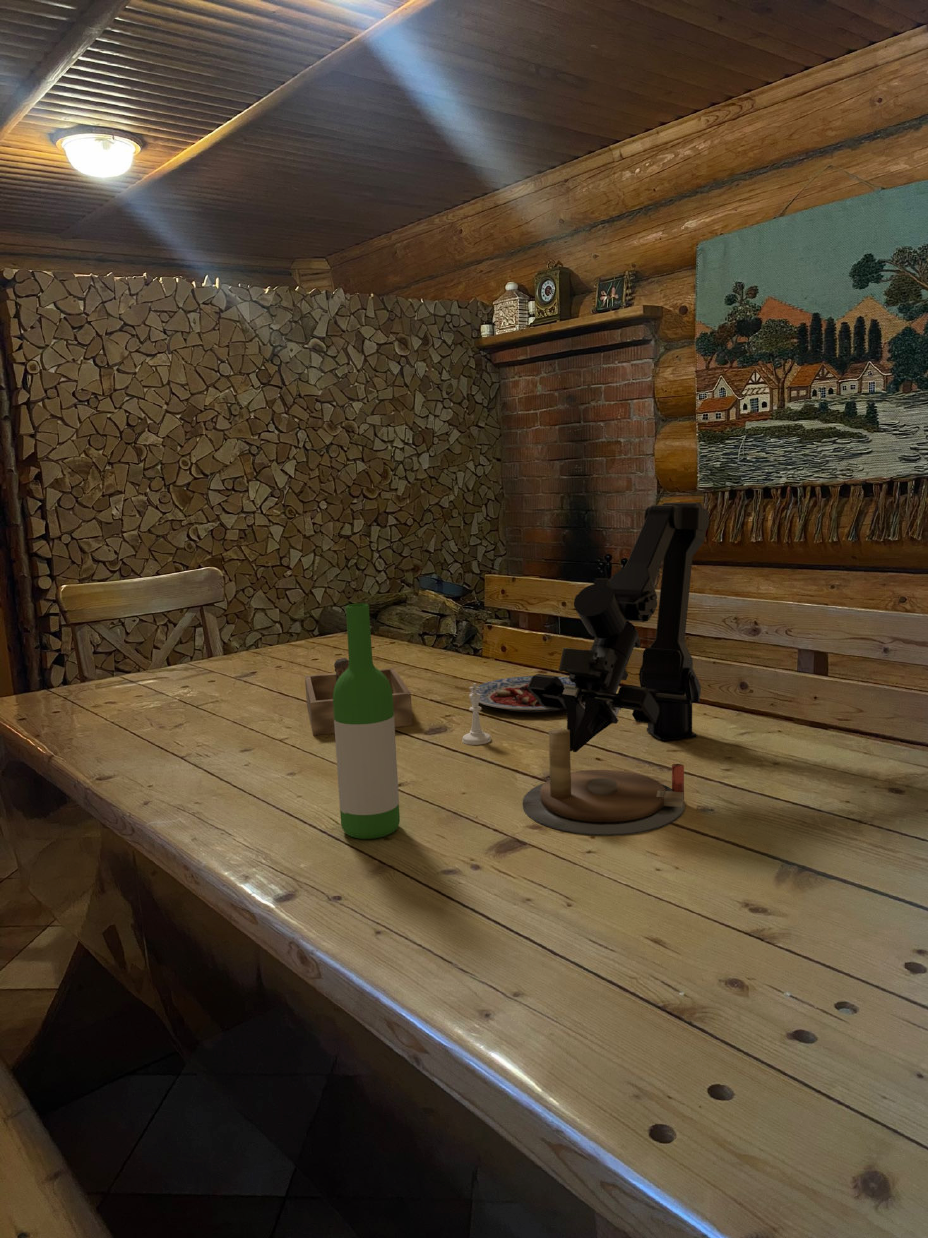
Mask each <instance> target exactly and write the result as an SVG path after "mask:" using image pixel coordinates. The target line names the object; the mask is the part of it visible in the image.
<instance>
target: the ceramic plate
mask: <svg viewBox="0 0 928 1238" xmlns="http://www.w3.org/2000/svg"><path fill="white" fill-rule="evenodd" d="M533 676H534V675H527V676H525V675H524V676H515V677H514V676H513V677H506V678H499V679H496V680H492V681H491V680H490V681H487V682H483V683H481V684H479V685H476V687H480V690H476V693H479V694H480V695H481V697H480V700H479V704H481V705H484V706H488V707H493V708H498V709H503V710H506V711H510V712H521V713H544V712H545V713H547V712H557V711H558V710H556V709H549V708H545V707H543V706H541V705H540V703H539V702H538V701H537V700H536V698H535V697H534V696H533V695H532V693H531V692H530V691H529V690H528V688H527V687H528V684H529V682H530V680H531V678H532V677H533ZM558 678H559V679H560V680H561V682H562V683H563V684H564V685H565V684H566V685H574V686H575V685H576V684H575V683H574V682H571V681H570V679H569V676H558ZM472 693H473V690H470V693H469V695H470V694H472ZM562 710H566V708H563V709H562Z"/></svg>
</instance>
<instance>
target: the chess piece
mask: <svg viewBox="0 0 928 1238" xmlns="http://www.w3.org/2000/svg"><path fill="white" fill-rule="evenodd" d="M468 688H469V689H468V690H469V691H472V690H473V693H472V694H470V693H469V695H468V697H469V701H470V704H471V706H470V707H469V709H468V710H469V711H471V712H472V717H471V718H472V719H471V728H470V730H469V732H468V733H465V734H464V735H463V736H462V740H461V742H462V743H463V744H465V745H469V746H470V745H471V746H472V745H473V746H478V745H485V744H489V743H490V742H491V741H492V739H491V735H490V734H489V733H487V732H484V730H483V729H482V726H481V722H480V721H481V720H480V713H479V711H481V710H482V709H483V708H482V707H481V706H479V704H480V703H479V700H480V697H481V695H480V694H479V693H476V690H480V687H477V683H476V682H475V683H472V686H470V687H468Z"/></svg>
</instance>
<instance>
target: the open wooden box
mask: <svg viewBox="0 0 928 1238" xmlns="http://www.w3.org/2000/svg"><path fill="white" fill-rule="evenodd" d="M378 670H380V671H381V672H382V673H383V674H384V675H385V676H386V678H387V679H388V681H389V683H390V685H391V688H392V694H393V710H394V724H395V728H399V727H400V728H401V727H411V726H413V725H414V724H413V707H412V693H411V691H410V690H409V688H408V687H407V685H406V684H405V682H404V681H403V679H402V678H401V676H400V675H399V673H398V672H397V670H396V668H395V667H392V668H390V667H389V668H382V669H378ZM335 675H336V672H335V673H333V672H332V673H323V674H311V675H304V680H305V681H304V684H305V685H304V686H305V699H306V708H307V712H308V718H309V722H310V728H311V733H312V736H320V735H327V734H328V735H329V734H330V735H331V734H335V726H334V708H333V692H334V687H335V684H336V677H335Z"/></svg>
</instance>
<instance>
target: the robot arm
mask: <svg viewBox="0 0 928 1238" xmlns="http://www.w3.org/2000/svg"><path fill="white" fill-rule="evenodd" d="M642 524H643V525H642V527H641V529H640V531H639V533H638V536H637V538H636V540H635V543H634V545H633V548H632V550H631V553H630V555H629V557H628V559H627V562H626V564H625V566H624V567H623V568H621V569H620V570H619V571H617V572H615V573H614V574H613V575H611V578H594V581H593V583H592V584H590V585H588V586H586V587H584V588H583V589H581V590H580V591H579V593H577V594H576V595H575V597H574V600H573V607H574V609H575V611H576V613H577V614H578V616H579V618H580V620H581V621H582V624H583V625H584V627H585V628H586V630H587V632H588V634H590V636H592V637H594V640H593V642H592V645H591V647H590V649H576V648H569V647H563V648H562V652H561V658H560V662H559V666H558V667H559V668H558V671H559V672H565V673H567V674H569V676H568V677H569V679H570V681H571V682H574V683H575V684H576V685H575V686H574V685H566V684H565V685H564V684H563V683H562V682H561V680H560V679H559V678H558V676H557V675H550V674H543V673H537V674H534V675H532V676H533V677H532V678H531V680H530V682H529V684H528V687H527V688H528V690H529V691H530V692H531V693H532V695H533V696H534V697H535V698H536V700H537V701H538V702H539V703H540V705H541V706H543V707H545V708H549V709H556V710H557V711H562V710H564V709H563V708H566V709H565V710H566V711H565V712H566V729H568V730H569V731H570V752H573V753H577V752H578V751H579V750H581V749H582V748H583V747H584V746H585V745H586V744H587V743H588V742H590V741H591V740H592V739H593V738H595V736H597V735H598V734H599V733H601V732H602V731H603V730H605V729H606V728H608V727H610V726H611V725H612V724H618V722H619V719H618V718H617V717H618V714H619V712H620V711H621V710H622V709H625V710H629V711H631V710H632V714H631V715H632V718H634V719H633V720H635V722H636V723H640V724H647V727H646V732H647V733H649V734H651V735H652V736H653V737H655V738H657V740H659V741H661V742H662V741H663V742H665V741H673V740H680V739H681V740H683V739H691V738H697V735H698V734H697V733H696V732H694V731H693V704H697V703H699V702H700V701H701V700H700V699H701V694H702V691H701V690H702V688H701V687H702V686H701V683H700V681H699V679H698V677H697V675H696V673H695V671H694V669H693V668H694V665H693V664H694V660H693V656H692V655H691V652H690V651H689V649H688V646H687V645H686V643H685V640H686V633H687V631H686V629H687V620H688V608H689V598H690V590H691V589H690V587H691V577H692V567H693V559H694V558H693V557H694V555H695V554H696V553H697V551H698V550H699V549H700V548H701V546H702V545H703V544H704V542H705V537H706V531H707V530H708V528H709V526H710V525H709V524H710V514H709V510H708V509H707V508H704V507H703V504H702V503H701V502H691V501H690V502H689V501H688V502H683V501H682V502H663V503H662V504H652V505H651V506H648V507H647V508H646V509H645V513H644V522H643V523H642ZM661 565H662V569H661V582H660V592H659V603H658V599H657V598H658V596H657V591H656V588H655V587H654V584H655V580H656V578H657V576H658V573H659V570H660V568H661ZM657 607H658V609H657ZM656 609H657V610H658V611H657V620H656V621H657V623H656V631H655V632H656V634H655V639H654V640H653V642H652V643H651V645H650V646H649V647H645V648H644V650H643V652H642V664H641V666H640V669H639V672H638V673H639V675H638V678H639V684H640V686H636V685H628V684H623V685H622V686H620V684H621V682H622V681H627V680H628V677H629V673H628V671H627V670H626V668H627V666H628V664H629V660H630V659H631V656H632V653H633V651H634V649H639V648H641V640H640V638H639V633H638V630H637V628H636V626H635V625H634V624H633V623H632V622H634V623H645V622H646V623H647V622H648V621H650V619H651V617H652V616H653V615H654V614H655V612H656ZM619 686H620V687H619ZM617 691H618V692H617Z"/></svg>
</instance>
